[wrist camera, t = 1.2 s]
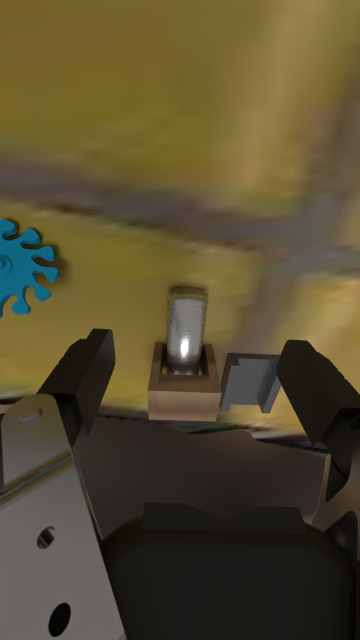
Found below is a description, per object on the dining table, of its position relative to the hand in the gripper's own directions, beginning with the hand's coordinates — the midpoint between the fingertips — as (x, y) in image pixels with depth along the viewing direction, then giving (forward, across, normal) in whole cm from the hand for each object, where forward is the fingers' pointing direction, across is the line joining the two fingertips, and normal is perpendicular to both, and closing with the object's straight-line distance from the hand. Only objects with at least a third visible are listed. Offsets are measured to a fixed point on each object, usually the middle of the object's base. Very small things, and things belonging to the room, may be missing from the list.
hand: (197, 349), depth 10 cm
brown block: (+16, 0, +15) cm, 22 cm away
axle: (+17, 0, +13) cm, 21 cm away
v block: (+16, -11, +19) cm, 27 cm away
